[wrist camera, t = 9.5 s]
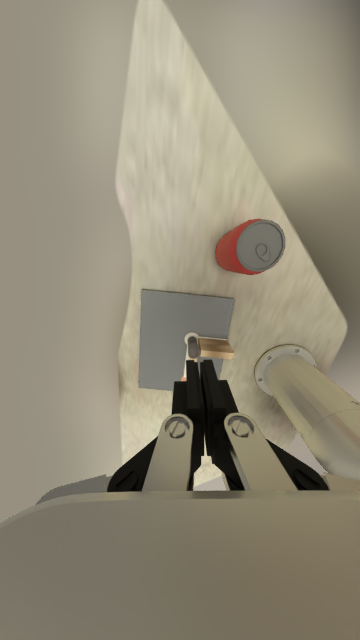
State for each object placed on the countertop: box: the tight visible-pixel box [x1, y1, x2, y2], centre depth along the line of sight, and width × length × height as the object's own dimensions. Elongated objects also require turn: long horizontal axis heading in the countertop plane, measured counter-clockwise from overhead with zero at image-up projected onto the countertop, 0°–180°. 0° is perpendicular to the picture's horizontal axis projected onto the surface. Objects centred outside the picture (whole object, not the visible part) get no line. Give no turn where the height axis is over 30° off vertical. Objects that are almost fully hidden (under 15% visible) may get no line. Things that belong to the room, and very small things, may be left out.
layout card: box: [139, 289, 235, 391], centre depth 37 cm, size 18×22×1 cm
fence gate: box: [188, 336, 199, 362], centre depth 34 cm, size 11×2×6 cm, turn 3°
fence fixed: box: [198, 338, 234, 359], centre depth 33 cm, size 6×1×6 cm, turn 84°
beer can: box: [215, 219, 285, 275], centre depth 26 cm, size 7×7×12 cm
